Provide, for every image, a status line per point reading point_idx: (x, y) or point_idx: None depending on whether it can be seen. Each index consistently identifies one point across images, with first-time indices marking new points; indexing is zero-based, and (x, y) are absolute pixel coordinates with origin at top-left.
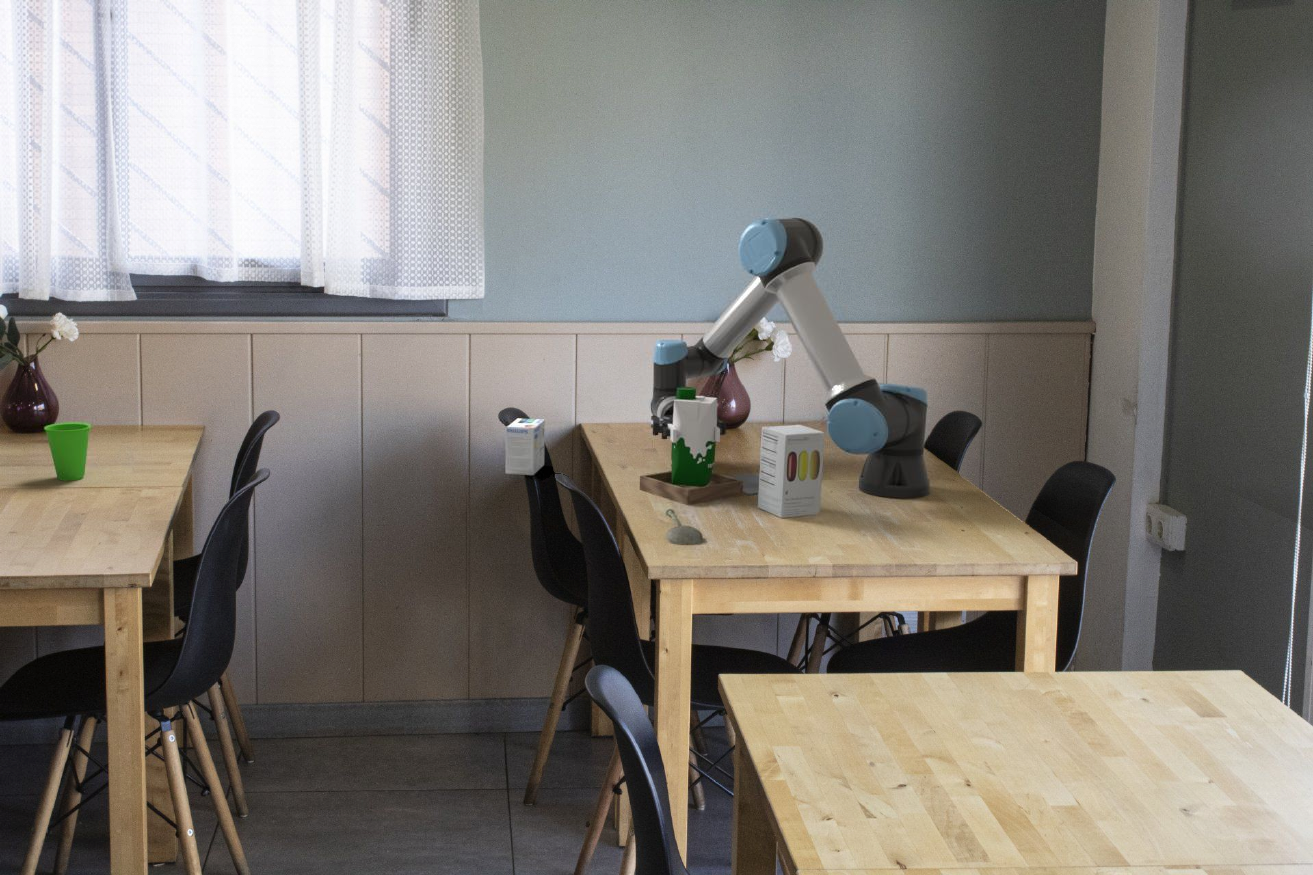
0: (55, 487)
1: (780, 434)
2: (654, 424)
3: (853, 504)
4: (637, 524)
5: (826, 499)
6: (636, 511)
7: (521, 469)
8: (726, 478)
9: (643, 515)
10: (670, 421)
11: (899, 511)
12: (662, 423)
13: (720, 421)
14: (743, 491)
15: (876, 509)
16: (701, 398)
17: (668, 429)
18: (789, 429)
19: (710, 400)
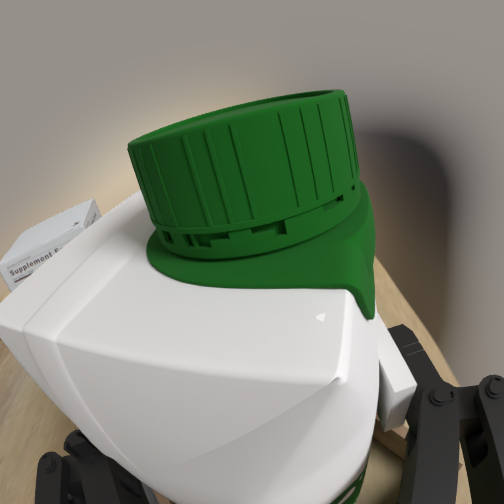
0: None
1: (92, 205)
2: (493, 376)
3: (21, 390)
4: (378, 262)
5: (32, 420)
6: (402, 312)
7: None
8: (170, 501)
9: (383, 297)
10: (418, 501)
11: (7, 359)
12: (455, 395)
13: (45, 501)
14: (145, 487)
15: (18, 367)
16: (132, 219)
17: (390, 331)
18: (56, 221)
19: (90, 233)
